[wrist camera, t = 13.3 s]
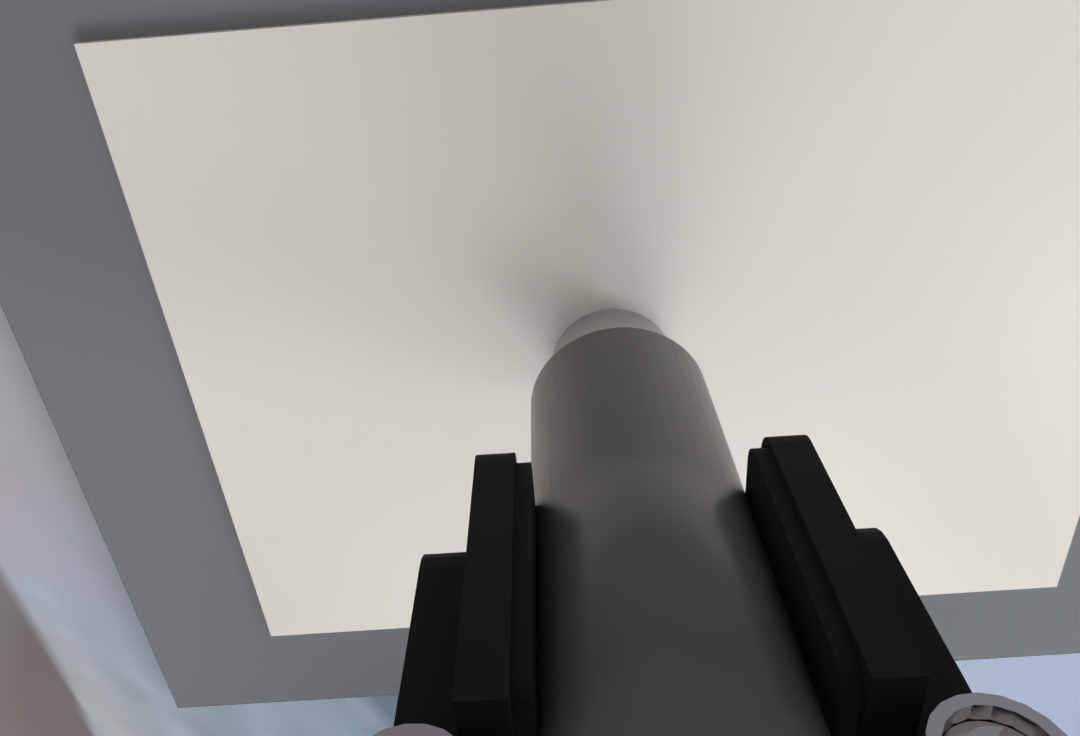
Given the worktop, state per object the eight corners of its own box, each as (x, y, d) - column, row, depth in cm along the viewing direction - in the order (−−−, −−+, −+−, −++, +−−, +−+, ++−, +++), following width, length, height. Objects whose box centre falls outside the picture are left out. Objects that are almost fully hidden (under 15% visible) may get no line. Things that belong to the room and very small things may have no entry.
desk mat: (1512, -274, 12) (1543, -280, 11) (1142, 635, 21) (1153, 648, 20) (-169, -127, 12) (-189, -127, 12) (183, 694, 21) (177, 708, 21)
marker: (699, 277, 15) (1269, 1570, 3) (695, 428, 16) (1072, 1648, 5) (518, 289, 15) (484, 1590, 3) (531, 438, 16) (538, 1663, 5)
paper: (1251, -54, 13) (1262, -53, 12) (1052, 580, 19) (1056, 586, 19) (79, 42, 13) (73, 44, 13) (273, 629, 20) (271, 636, 19)
